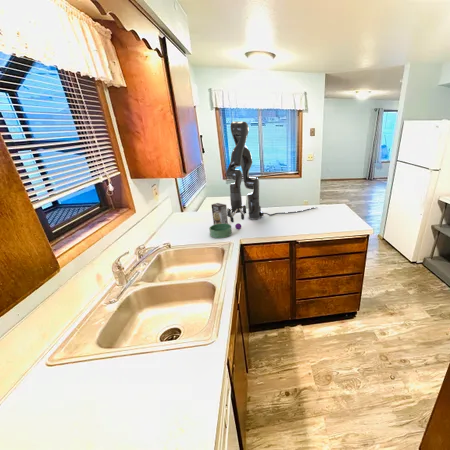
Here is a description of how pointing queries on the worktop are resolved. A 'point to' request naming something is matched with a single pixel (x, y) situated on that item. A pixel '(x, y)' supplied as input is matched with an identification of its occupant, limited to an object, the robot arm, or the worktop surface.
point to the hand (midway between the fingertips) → (237, 220)
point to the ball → (238, 226)
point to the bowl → (220, 230)
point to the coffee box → (219, 213)
